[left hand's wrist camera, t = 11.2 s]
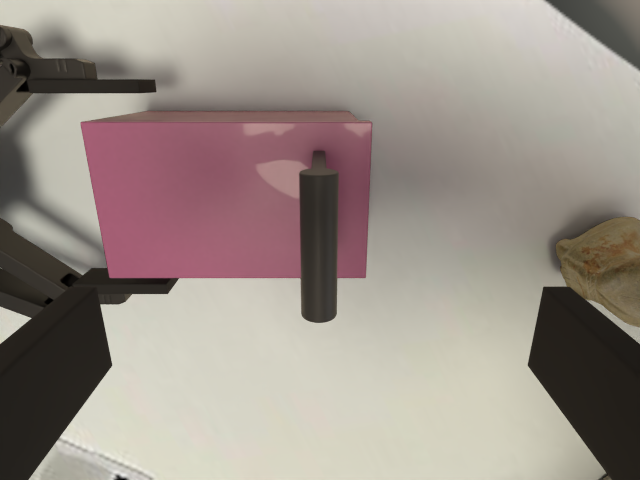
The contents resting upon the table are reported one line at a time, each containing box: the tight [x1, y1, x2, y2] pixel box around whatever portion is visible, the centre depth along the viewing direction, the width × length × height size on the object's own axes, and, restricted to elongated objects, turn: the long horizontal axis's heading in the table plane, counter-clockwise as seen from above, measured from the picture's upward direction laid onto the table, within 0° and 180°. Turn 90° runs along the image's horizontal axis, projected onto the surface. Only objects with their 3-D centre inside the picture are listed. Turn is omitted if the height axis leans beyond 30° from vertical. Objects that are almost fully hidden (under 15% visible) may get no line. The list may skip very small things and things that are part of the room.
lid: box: [81, 121, 372, 323], centre depth 22 cm, size 16×10×9 cm, turn 90°
